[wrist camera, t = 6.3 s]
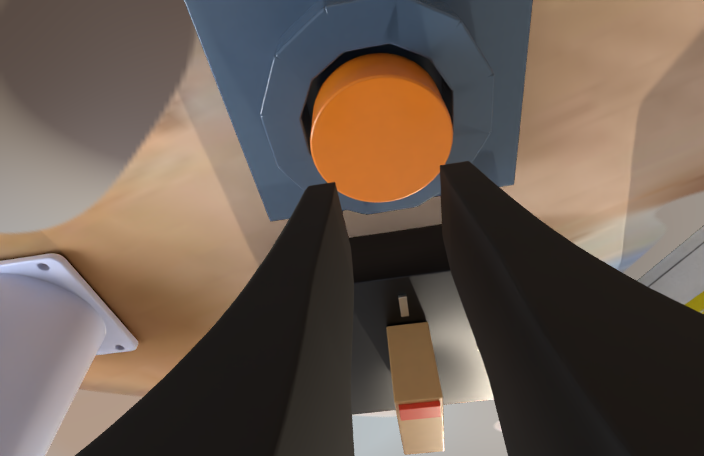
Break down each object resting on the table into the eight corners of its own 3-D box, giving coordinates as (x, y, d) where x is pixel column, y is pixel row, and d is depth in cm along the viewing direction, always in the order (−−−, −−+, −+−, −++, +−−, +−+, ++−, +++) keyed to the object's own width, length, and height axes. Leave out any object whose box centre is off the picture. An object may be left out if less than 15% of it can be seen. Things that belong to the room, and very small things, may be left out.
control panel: (338, 372, 28) (338, 418, 26) (292, 246, 21) (286, 295, 18) (487, 355, 27) (501, 401, 25) (497, 216, 20) (519, 264, 17)
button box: (274, 198, 19) (264, 252, 16) (190, -33, 13) (152, -9, 10) (501, 162, 18) (530, 213, 15) (521, -104, 12) (574, -96, 9)
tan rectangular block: (431, 380, 23) (446, 457, 20) (396, 383, 24) (405, 460, 20) (427, 321, 20) (444, 403, 17) (386, 325, 20) (394, 408, 17)
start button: (327, 180, 14) (326, 212, 13) (298, 66, 12) (293, 90, 10) (443, 162, 14) (454, 192, 13) (439, 39, 11) (452, 61, 10)
